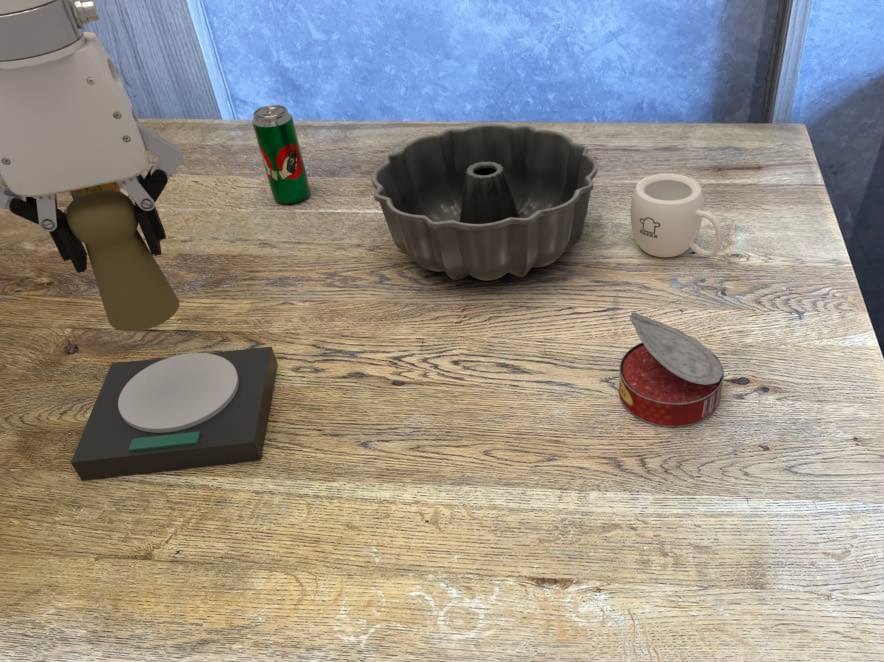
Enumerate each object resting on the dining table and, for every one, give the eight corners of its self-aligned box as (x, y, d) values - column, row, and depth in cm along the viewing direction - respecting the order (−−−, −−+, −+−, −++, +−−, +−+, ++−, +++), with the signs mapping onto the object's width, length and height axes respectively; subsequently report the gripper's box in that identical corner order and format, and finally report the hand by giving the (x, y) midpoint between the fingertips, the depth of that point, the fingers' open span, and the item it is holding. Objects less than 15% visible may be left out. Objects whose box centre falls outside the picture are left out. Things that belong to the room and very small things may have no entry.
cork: (100, 335, 70) (43, 220, 62) (116, 295, 74) (64, 184, 67) (173, 326, 70) (125, 212, 63) (184, 287, 75) (141, 176, 67)
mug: (615, 249, 100) (616, 189, 94) (656, 221, 104) (660, 163, 99) (698, 283, 93) (704, 222, 88) (737, 252, 98) (746, 192, 93)
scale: (81, 480, 74) (67, 457, 72) (120, 381, 84) (109, 358, 82) (261, 460, 75) (252, 437, 73) (277, 364, 85) (270, 341, 83)
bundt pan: (398, 195, 112) (386, 124, 105) (590, 188, 111) (591, 116, 104) (370, 308, 92) (353, 230, 85) (603, 300, 92) (605, 220, 85)
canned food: (636, 397, 86) (648, 303, 84) (729, 418, 82) (745, 319, 79) (591, 418, 76) (604, 313, 74) (694, 443, 72) (712, 332, 70)
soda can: (316, 189, 114) (296, 104, 106) (302, 206, 110) (280, 120, 102) (282, 187, 114) (260, 102, 106) (267, 204, 111) (243, 118, 103)
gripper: (146, -5, 61) (219, 213, 73) (-112, 32, 57) (11, 258, 69) (151, 24, 56) (229, 254, 68) (-133, 68, 51) (5, 305, 64)
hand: (119, 253), depth 68 cm, fingers closed on cork, 5 cm apart
